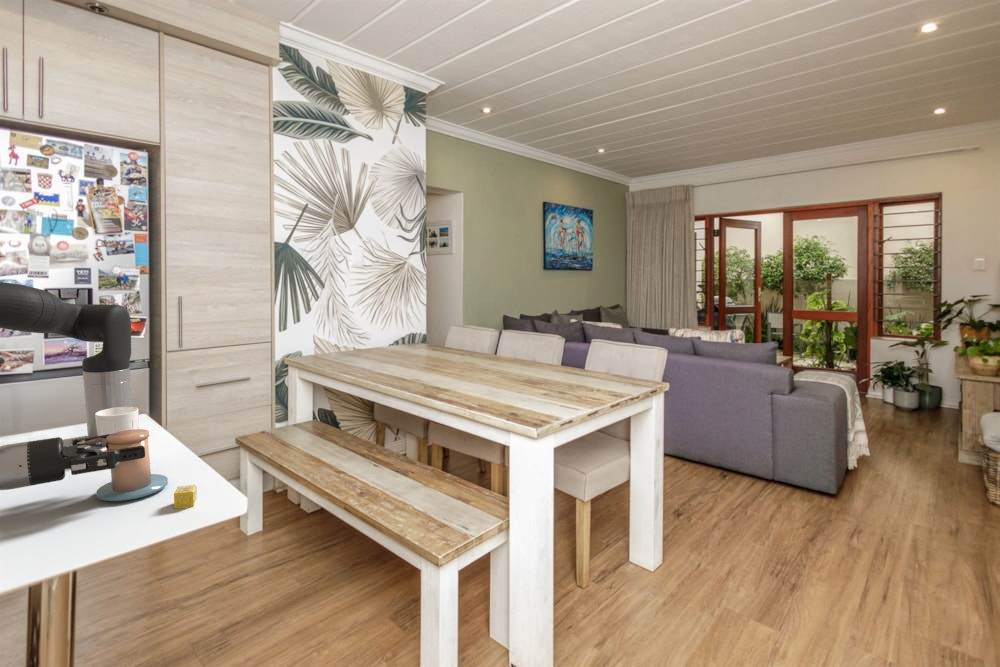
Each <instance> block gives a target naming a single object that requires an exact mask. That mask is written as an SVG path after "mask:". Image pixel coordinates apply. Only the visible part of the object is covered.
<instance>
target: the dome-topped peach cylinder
mask: <svg viewBox="0 0 1000 667" xmlns="http://www.w3.org/2000/svg"><path fill="white" fill-rule="evenodd" d="M149 432H150V431H149V430H148V429H144V428H139V429H133V430H125V431H120V432H116V433H113V434H111V435H109V436H107V437H106V439H107V443H108V446H109V450H115V449H116V450H119V449H124V448H130V447H136V446H144V448H145V457H144V458H141V459H136V460H130V461H124V462H120V463H119V464H117V465H115V466H116V467H115V468H113V469H110V478H111V482H112V489H113V491H115V492H130V491H135V490H139V489H142V488H144V487H146V486H148V485H150V484H151V474H152V471H151V470H152V469H151V462H150V461H151V460H150V459H151V458H150V448H149V437H150V433H149Z"/></svg>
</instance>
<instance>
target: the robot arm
mask: <svg viewBox="0 0 1000 667" xmlns="http://www.w3.org/2000/svg"><path fill="white" fill-rule="evenodd" d="M0 329H4V330H5V329H6V330H10V331H18V332H25V333H34V334H35V333H36V334H57V335H61V336H65V337H68V338H71V339H74V340H78V341H83V342H89V343H90V342H91V343H102V349H101V350H100V352H98V353H96V354H95V355H91V356H88V357H86V358H83V360H82V362H81V364H82V367H81V368H82V380H83V389H84V390H83V393H84V402H85V415H86V428H87V437H83V438H76V439H72V440H71V442H72V443H71V445H68V446H64V441H63V438H62V437H60V436H58V437H50V438H43V439H37V440H29V441H23V442H14V443H10V444H9V443H8V444H4V445H0V491H10V490H15V489H21V488H26V487H33V486H36V485H43V484H47V483H48V484H49V483H53V482H59V481H62V480H64V479H65V477H66V470H69V469H70V470H71V472H70V473H71V476H77V475H81V474H87V473H93V472H100V471H106V470H111V469H113V468H115V467H116V466H115V465H117V464H119V463H120V462H124V461H130V460H136V459H141V458H144V457H145V448H144V446H136V447H130V448H124V449H119V450H116V449H115V450H109V446H108V443H107V439H106V437H107V436H109V435H111V434H107V435H101V436H98V434H97V426H96V419H95V413H96V412H98V411H101V410H105V409H110V408H117V407H133V398H132V396H133V395H132V381H131V367H130V361H131V356H132V321H131V316H130V313H129V311H128V309H127V308H126V307H124V306H123V305H120V304H99V303H98V304H96V303H95V304H94V303H93V304H92V303H90V304H89V303H87V304H81V303H79V304H78V303H70V302H69V303H68V302H62V301H61V299H60V298H59V297H58V296H57V295H55V294H54V293H51V292H50V291H46V290H44V289H41V288H38V287H37V288H36V287H33V286H29V285H24V284H19V283H13V282H4V281H0Z"/></svg>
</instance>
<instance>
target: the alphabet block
mask: <svg viewBox="0 0 1000 667" xmlns="http://www.w3.org/2000/svg"><path fill="white" fill-rule="evenodd" d="M197 488H198V487H197V484H190V485H181V486H180V485H179V486H177V487H176V488H175V489H176V490H175V491H174V494H173V506H174V507H173V508H174V509H175V510H178V508H179V509H185V507H187V508H193V507H194V506H195V504H196V502H197V499H198V498H197V497H198V496H197V495H198V494H197V491H198V490H197ZM183 507H184V508H183Z"/></svg>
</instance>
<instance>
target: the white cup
mask: <svg viewBox="0 0 1000 667" xmlns="http://www.w3.org/2000/svg"><path fill="white" fill-rule="evenodd" d="M139 416H140V415H139V408H138V407H135V406H132V407H117V408H110V409H105V410H101V411H98V412H96V413H95V419H96V426H97V434H98V436H101V435H107V434H113V433H116V432H120V431H125V430H133V429H140V428H139V422H140V421H139Z"/></svg>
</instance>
